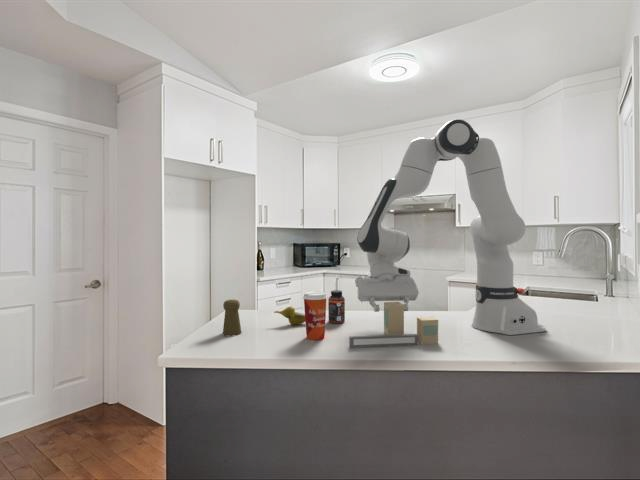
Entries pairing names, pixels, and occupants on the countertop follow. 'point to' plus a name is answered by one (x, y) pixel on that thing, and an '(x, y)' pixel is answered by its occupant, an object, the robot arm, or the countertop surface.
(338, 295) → the supplement bottle
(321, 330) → the paper cup
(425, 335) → the tea box
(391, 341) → the rail
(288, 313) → the yellow toy bird
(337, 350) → the countertop surface
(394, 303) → the tan rectangular block
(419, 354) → the countertop surface
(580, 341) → the countertop surface
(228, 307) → the cork
